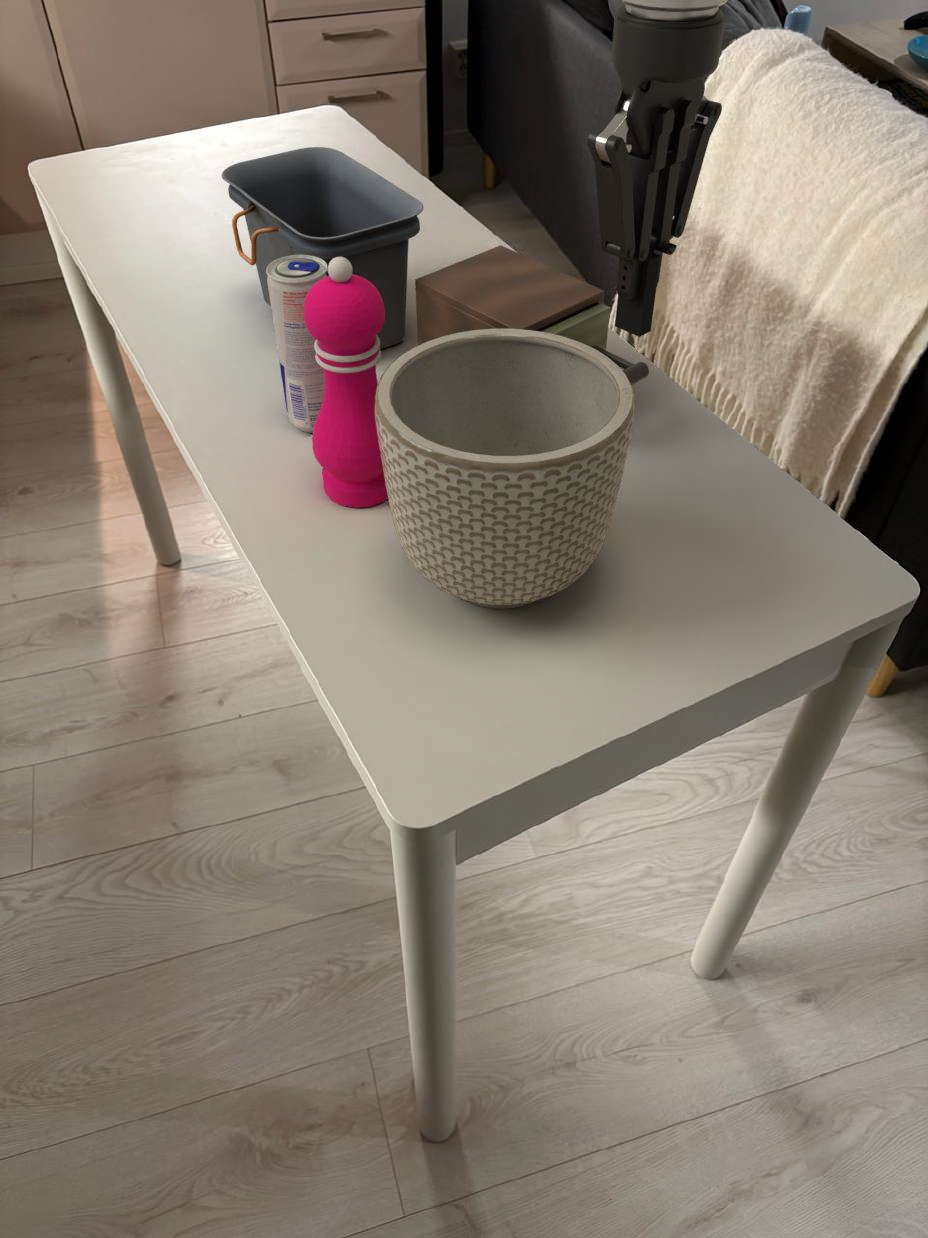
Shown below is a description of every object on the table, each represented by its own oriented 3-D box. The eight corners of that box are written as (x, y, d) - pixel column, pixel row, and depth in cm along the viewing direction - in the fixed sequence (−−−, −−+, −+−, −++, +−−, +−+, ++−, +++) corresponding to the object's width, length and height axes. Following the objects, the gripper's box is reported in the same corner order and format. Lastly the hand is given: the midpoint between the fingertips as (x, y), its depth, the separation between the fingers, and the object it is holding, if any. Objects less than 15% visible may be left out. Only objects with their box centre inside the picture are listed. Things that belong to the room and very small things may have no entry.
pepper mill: (303, 500, 82) (268, 270, 68) (342, 454, 87) (318, 230, 73) (380, 520, 80) (362, 287, 66) (416, 472, 85) (406, 245, 71)
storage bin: (441, 346, 100) (438, 205, 91) (309, 391, 94) (290, 246, 84) (339, 272, 113) (327, 141, 103) (216, 308, 107) (190, 172, 97)
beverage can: (348, 408, 92) (333, 252, 82) (338, 438, 88) (320, 279, 78) (295, 405, 92) (273, 250, 82) (283, 435, 89) (258, 277, 78)
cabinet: (595, 384, 95) (604, 290, 88) (514, 427, 90) (518, 330, 83) (498, 334, 102) (500, 244, 95) (418, 371, 97) (414, 279, 90)
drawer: (653, 409, 90) (665, 331, 85) (580, 451, 85) (588, 371, 80) (511, 337, 100) (513, 263, 94) (439, 370, 95) (437, 295, 90)
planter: (573, 491, 82) (589, 314, 71) (644, 630, 70) (677, 444, 59) (372, 519, 80) (355, 341, 69) (410, 670, 68) (397, 482, 57)
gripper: (686, -17, 72) (647, 291, 88) (565, 12, 65) (547, 338, 81) (772, -1, 67) (715, 318, 84) (653, 32, 61) (616, 371, 77)
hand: (632, 328), depth 82 cm, fingers closed
